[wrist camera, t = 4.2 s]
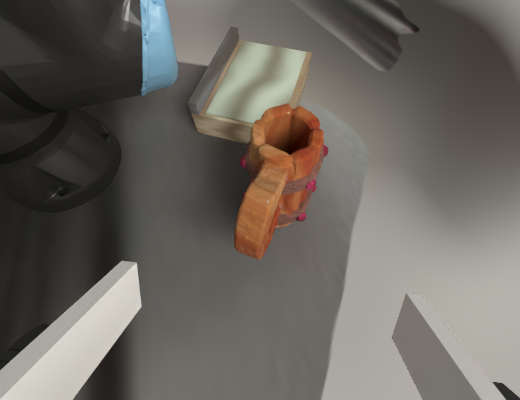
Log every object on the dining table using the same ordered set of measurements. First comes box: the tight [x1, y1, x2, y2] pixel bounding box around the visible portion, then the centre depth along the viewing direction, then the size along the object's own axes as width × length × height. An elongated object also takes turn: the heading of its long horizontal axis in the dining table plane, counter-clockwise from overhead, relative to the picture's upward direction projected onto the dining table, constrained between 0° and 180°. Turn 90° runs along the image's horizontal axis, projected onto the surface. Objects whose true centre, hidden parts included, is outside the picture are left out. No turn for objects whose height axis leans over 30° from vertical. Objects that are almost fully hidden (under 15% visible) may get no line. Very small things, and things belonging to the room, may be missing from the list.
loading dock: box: [188, 27, 312, 144], centre depth 39 cm, size 14×18×6 cm
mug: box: [234, 103, 328, 259], centre depth 25 cm, size 15×8×15 cm, turn 159°
